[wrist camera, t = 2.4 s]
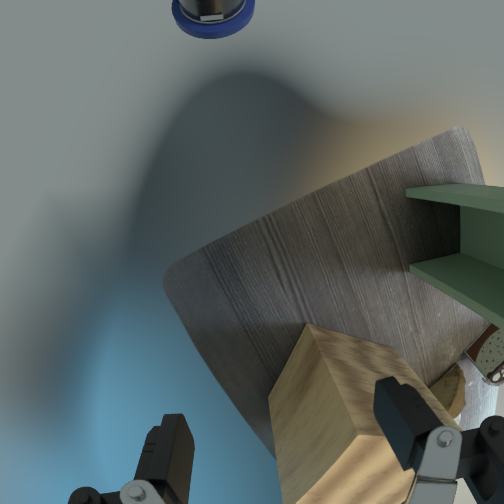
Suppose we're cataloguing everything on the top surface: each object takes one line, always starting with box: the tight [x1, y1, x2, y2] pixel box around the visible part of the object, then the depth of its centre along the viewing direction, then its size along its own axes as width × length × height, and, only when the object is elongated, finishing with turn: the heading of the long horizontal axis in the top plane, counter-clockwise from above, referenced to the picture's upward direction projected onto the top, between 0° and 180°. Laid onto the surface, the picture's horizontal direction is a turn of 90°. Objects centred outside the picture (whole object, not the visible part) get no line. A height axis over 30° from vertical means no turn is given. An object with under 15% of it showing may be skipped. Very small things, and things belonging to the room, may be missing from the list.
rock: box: [429, 363, 466, 419], centre depth 43 cm, size 11×9×10 cm
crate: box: [268, 323, 462, 504], centre depth 33 cm, size 16×14×22 cm
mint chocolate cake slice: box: [464, 322, 504, 386], centre depth 40 cm, size 12×6×10 cm, turn 131°
